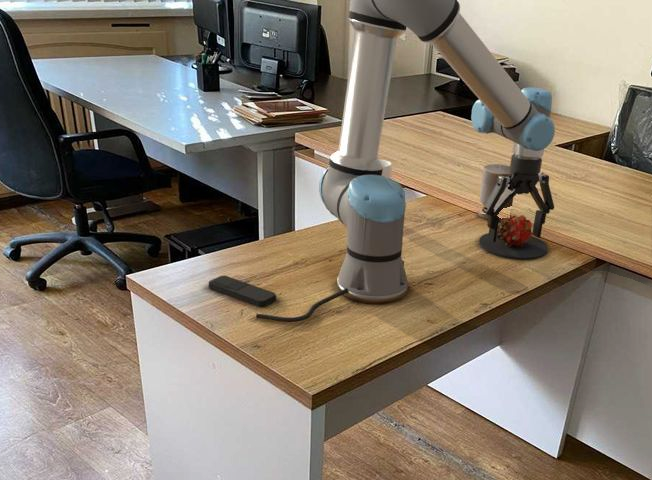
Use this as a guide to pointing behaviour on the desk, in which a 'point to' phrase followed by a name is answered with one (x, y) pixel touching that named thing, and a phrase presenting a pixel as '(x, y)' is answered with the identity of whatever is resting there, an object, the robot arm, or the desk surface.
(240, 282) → the remote control
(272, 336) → the desk surface
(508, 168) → the pillar candle
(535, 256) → the mat
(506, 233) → the dragon fruit
